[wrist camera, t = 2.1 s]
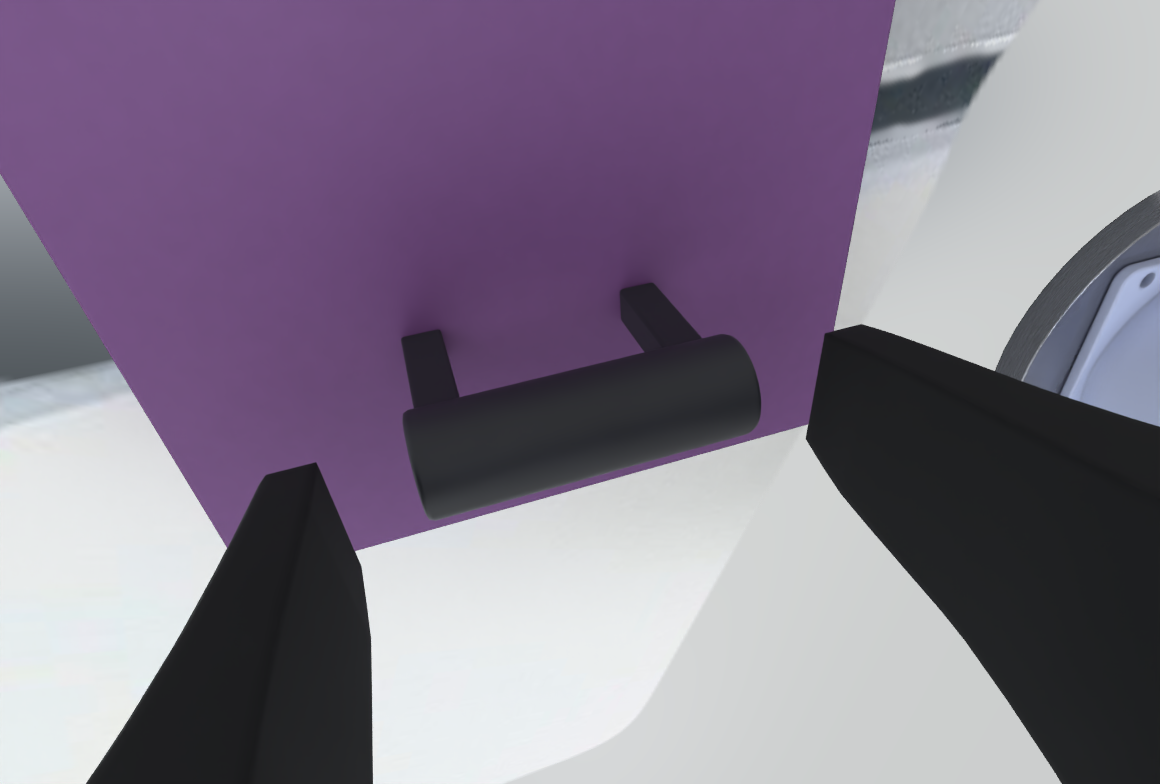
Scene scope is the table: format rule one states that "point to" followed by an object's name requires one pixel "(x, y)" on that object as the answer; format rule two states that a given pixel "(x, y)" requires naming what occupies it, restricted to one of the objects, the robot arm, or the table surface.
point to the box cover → (446, 230)
